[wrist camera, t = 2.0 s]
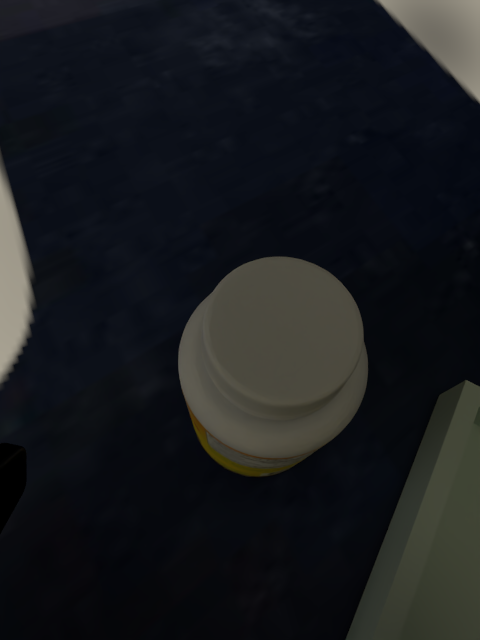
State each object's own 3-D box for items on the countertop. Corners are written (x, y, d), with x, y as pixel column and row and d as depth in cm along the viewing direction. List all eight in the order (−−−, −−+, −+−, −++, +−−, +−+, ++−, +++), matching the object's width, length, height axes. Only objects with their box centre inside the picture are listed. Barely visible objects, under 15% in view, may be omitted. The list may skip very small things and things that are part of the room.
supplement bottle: (221, 337, 22) (224, 199, 12) (332, 381, 21) (422, 271, 12) (170, 448, 20) (126, 383, 10) (291, 501, 19) (363, 484, 10)
